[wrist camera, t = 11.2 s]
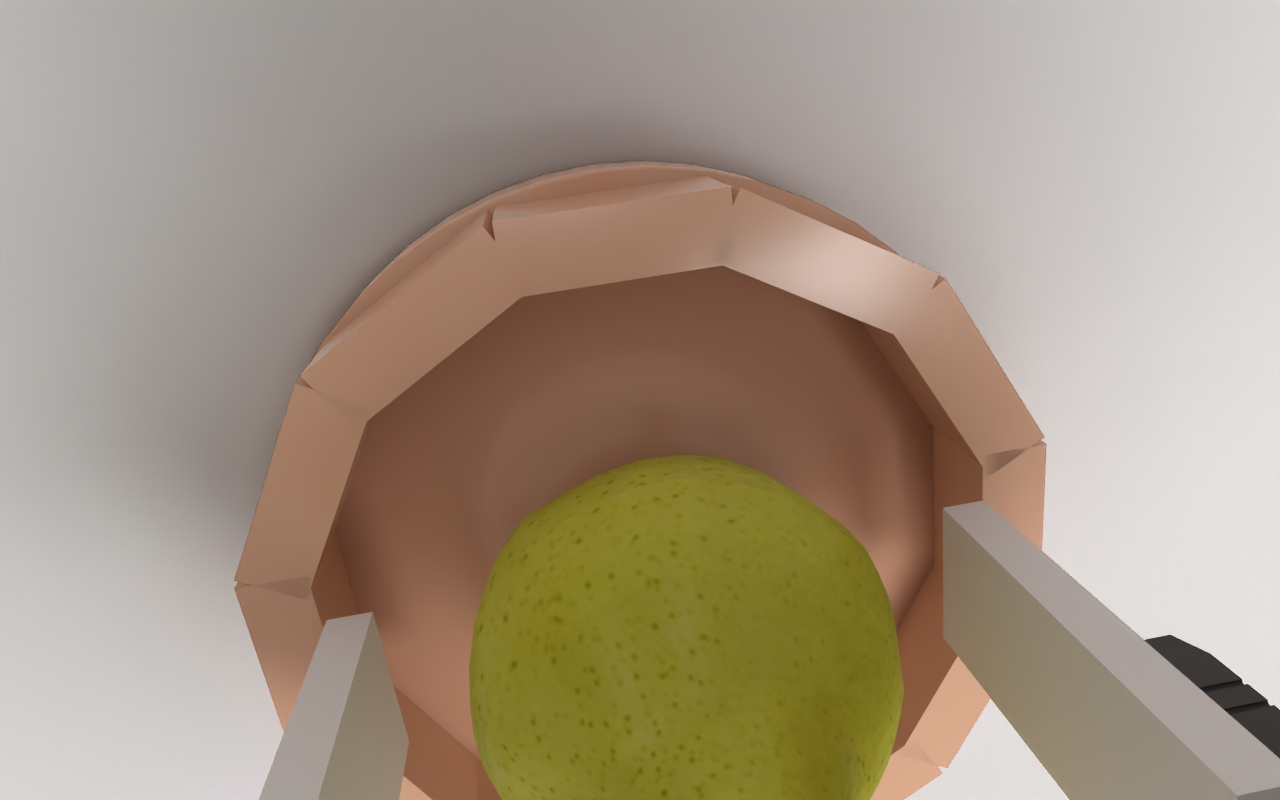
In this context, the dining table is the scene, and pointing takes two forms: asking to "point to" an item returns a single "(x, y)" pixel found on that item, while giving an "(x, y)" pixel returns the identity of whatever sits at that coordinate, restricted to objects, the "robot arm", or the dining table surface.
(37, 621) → the dining table surface
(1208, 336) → the dining table surface
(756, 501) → the fruit
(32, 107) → the dining table surface
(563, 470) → the dish
